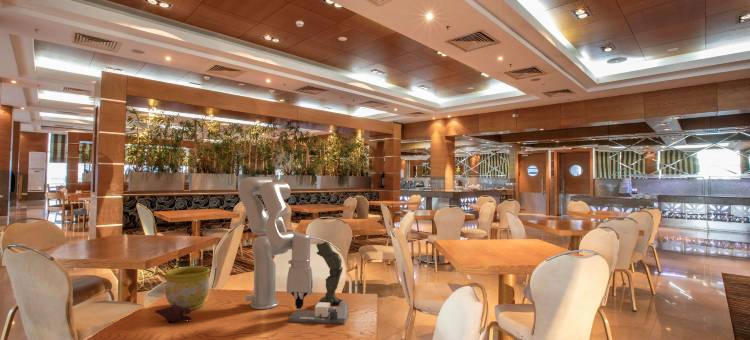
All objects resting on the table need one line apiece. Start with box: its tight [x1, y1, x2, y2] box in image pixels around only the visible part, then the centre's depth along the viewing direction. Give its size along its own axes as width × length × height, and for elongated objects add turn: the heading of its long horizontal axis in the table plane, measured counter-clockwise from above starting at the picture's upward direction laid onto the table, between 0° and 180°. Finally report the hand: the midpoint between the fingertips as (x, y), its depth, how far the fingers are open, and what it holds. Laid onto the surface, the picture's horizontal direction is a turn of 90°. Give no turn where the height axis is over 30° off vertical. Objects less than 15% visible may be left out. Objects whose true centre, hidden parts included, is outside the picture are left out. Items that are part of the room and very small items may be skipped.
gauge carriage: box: [314, 301, 337, 317], centre depth 159 cm, size 8×8×4 cm
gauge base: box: [287, 300, 350, 325], centre depth 160 cm, size 23×10×6 cm, turn 84°
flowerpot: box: [164, 265, 211, 311], centre depth 173 cm, size 18×18×16 cm
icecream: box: [154, 304, 192, 323], centre depth 156 cm, size 7×7×15 cm
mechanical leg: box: [315, 240, 344, 307], centre depth 180 cm, size 14×7×30 cm, turn 84°
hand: (299, 307), depth 161 cm, fingers closed
